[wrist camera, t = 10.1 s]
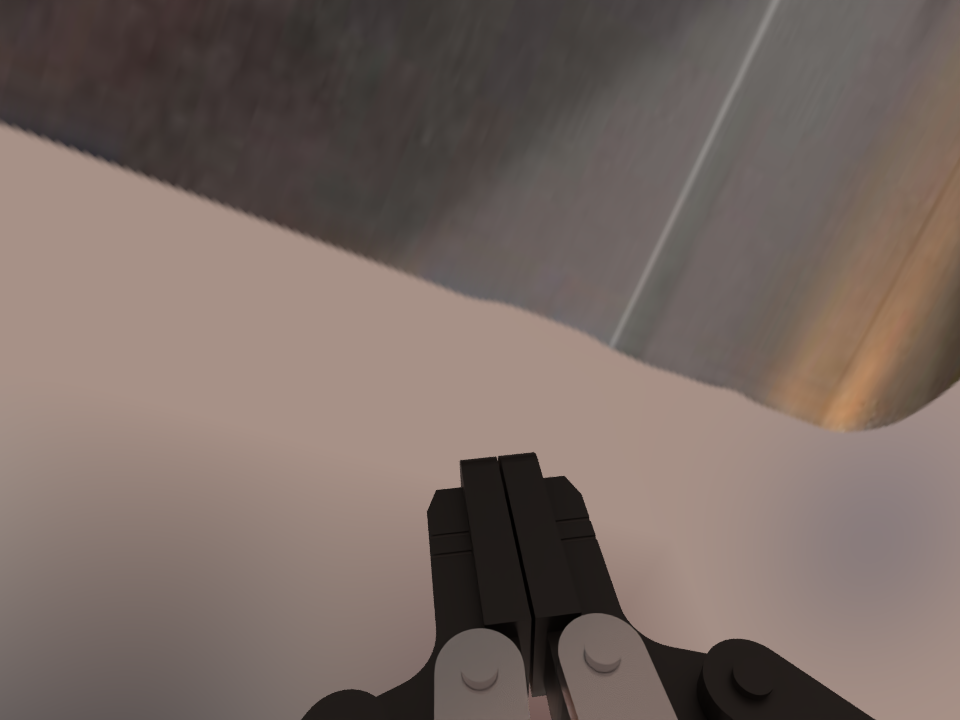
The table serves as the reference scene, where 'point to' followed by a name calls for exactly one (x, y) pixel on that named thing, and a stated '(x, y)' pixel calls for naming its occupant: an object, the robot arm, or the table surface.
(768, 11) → the table surface
